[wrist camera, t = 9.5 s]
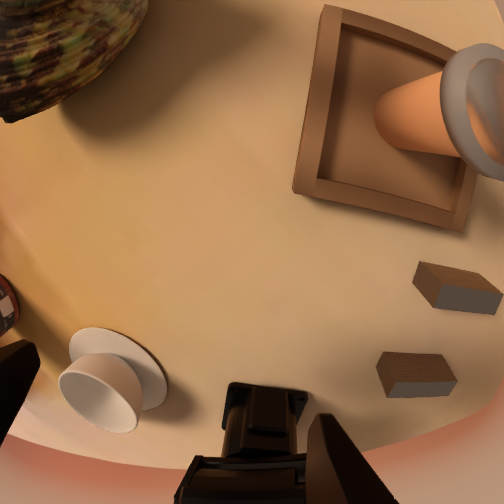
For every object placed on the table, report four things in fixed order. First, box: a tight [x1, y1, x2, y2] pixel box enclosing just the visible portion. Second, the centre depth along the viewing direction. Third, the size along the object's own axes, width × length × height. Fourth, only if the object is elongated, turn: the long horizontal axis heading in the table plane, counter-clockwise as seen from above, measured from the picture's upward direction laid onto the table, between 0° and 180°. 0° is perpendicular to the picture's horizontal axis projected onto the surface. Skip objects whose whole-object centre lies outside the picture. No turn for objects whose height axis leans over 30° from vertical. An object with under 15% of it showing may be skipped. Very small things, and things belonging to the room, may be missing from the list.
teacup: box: [58, 327, 167, 433], centre depth 22 cm, size 10×10×5 cm
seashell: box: [0, 0, 148, 123], centre depth 9 cm, size 11×11×10 cm
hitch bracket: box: [376, 261, 504, 398], centre depth 18 cm, size 9×6×4 cm, turn 171°
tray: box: [292, 4, 477, 233], centre depth 14 cm, size 11×11×2 cm
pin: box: [374, 43, 504, 181], centre depth 10 cm, size 5×5×9 cm
